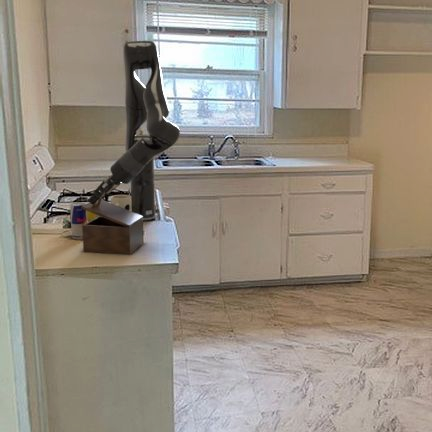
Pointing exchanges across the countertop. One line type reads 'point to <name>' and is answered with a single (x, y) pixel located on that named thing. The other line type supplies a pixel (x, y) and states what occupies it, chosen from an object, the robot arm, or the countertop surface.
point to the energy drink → (77, 219)
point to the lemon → (91, 216)
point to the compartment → (111, 236)
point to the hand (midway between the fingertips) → (94, 200)
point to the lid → (112, 212)
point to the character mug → (122, 201)
